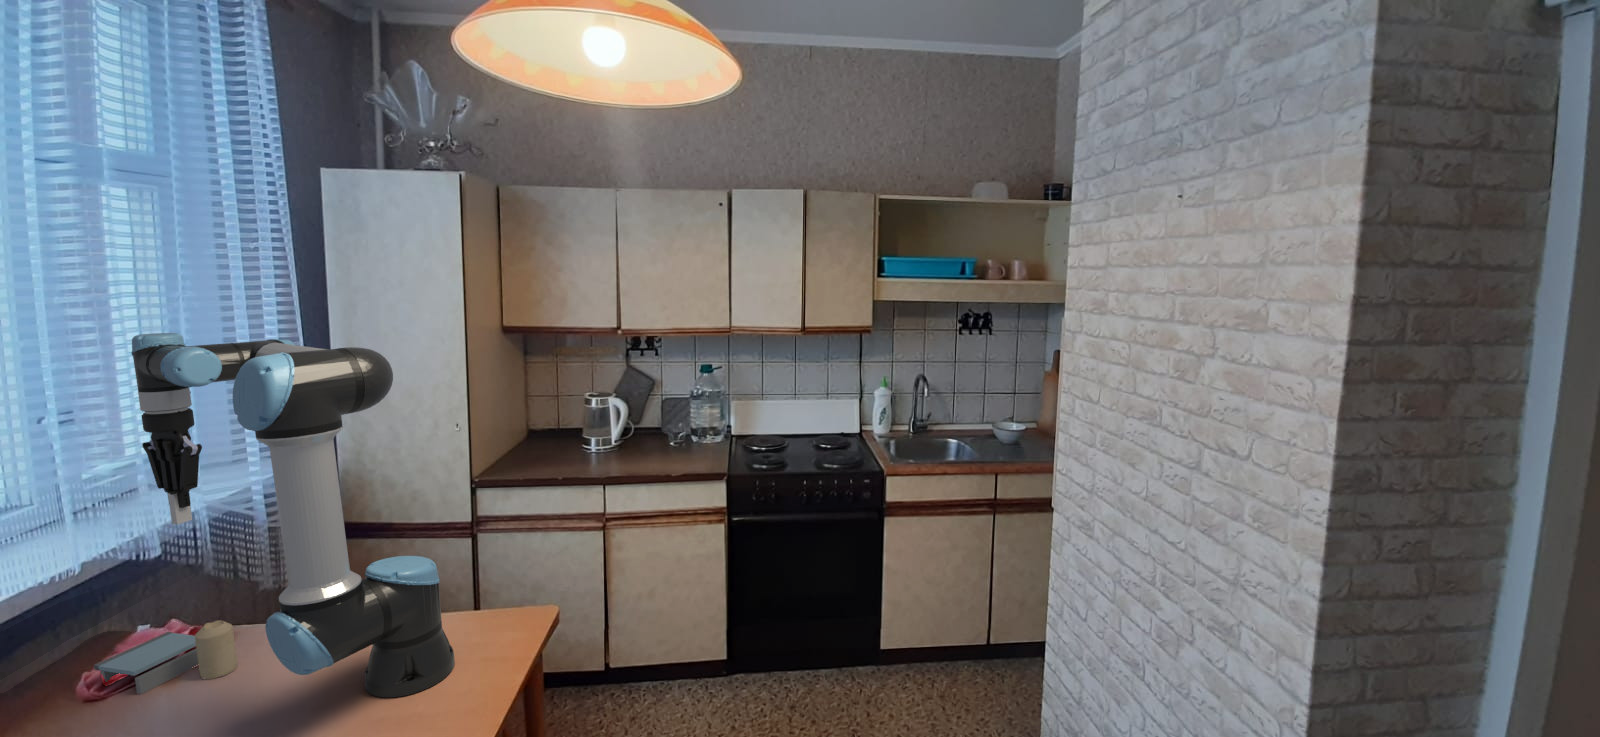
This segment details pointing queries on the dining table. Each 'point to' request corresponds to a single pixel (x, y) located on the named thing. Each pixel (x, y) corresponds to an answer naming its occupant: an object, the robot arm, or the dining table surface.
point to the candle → (216, 649)
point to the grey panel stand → (161, 672)
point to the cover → (147, 654)
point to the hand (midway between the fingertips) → (182, 521)
